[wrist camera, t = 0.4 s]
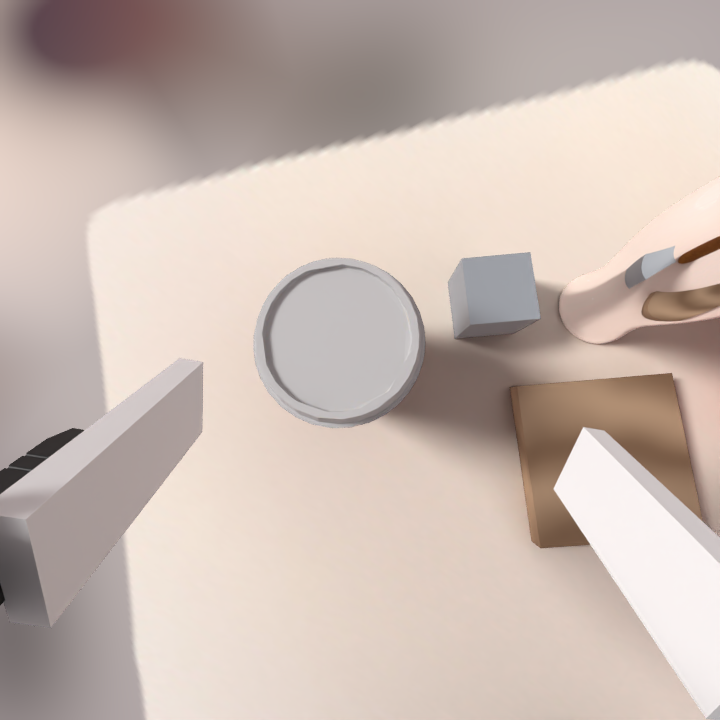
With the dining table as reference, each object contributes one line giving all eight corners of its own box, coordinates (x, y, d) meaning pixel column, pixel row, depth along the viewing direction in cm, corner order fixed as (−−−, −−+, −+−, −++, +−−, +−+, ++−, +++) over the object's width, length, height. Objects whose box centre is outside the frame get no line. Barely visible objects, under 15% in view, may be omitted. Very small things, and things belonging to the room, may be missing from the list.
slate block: (513, 333, 31) (540, 318, 26) (454, 338, 31) (470, 324, 26) (505, 277, 31) (530, 252, 26) (447, 282, 31) (461, 258, 26)
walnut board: (688, 529, 28) (705, 535, 26) (531, 541, 28) (540, 548, 27) (656, 375, 30) (671, 373, 28) (509, 387, 30) (516, 386, 28)
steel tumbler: (618, 260, 31) (843, 121, 16) (649, 336, 30) (920, 263, 15) (541, 282, 31) (695, 163, 16) (569, 359, 30) (762, 307, 15)
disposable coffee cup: (330, 444, 30) (302, 465, 18) (274, 346, 31) (214, 306, 19) (428, 384, 30) (465, 366, 18) (369, 290, 31) (367, 217, 20)
